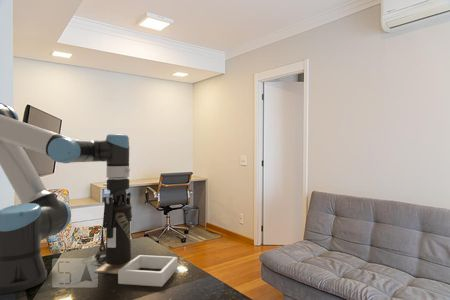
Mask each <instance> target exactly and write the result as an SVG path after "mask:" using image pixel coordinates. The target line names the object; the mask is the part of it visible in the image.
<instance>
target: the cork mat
mask: <svg viewBox="0 0 450 300" xmlns="http://www.w3.org/2000/svg"><path fill="white" fill-rule="evenodd" d="M132 260H133V259H131V261H132ZM128 263H129V262H128ZM128 263H125V264H121V265H109V264H107V263H106V262H105V263H104V264H103V265H100V266H99V267H98V268H97V269H95V270H94V273H102V274H115V275H116V274H117V275H118V270H119V269H121V268H122V267H123V266H125V265H126V264H128Z"/></svg>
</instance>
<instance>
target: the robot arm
mask: <svg viewBox="0 0 450 300" xmlns="http://www.w3.org/2000/svg"><path fill="white" fill-rule="evenodd" d="M25 149H27V150H29V151H32V152H35V153H38V154H42V155H44V156H48V157H49V158H51V159H52V160H53V161H54V162H57V163H62V164H70V163H91V162H92V163H93V162H94V163H95V162H106V178H107V179H106V190H108V191H109V195H108V196H104V198H103V202H104V206H103V217H102V218H103V219H102V227H103V229H106V228H107V247H109V248H115V247H116V228H114V226H115V221H116V213H113V207H119V206H120V204H129V205H131V204H132V201H131V194H132V193H131V192H127V190H129V189H130V179H129V177H130V171H131V169H130V137H129V135H127V134H123V133H122V134H121V133H120V134H119V133H113V134H111V133H109V134H107V135H106V139H103V140H99V139H98V140H95V139H94V140H92V139H91V140H88V139H81V138H80V139H79V138H72V137H69V136H66V135H63V134H60V133H56V132H54V131H51V130H48V129H45V128H41V127H39V126H36V125H32V124H30V123H26V122H24V121H21V120H19V115H18V114H17V112H16V111H15V110H14V108H13V107H11V106H9V105H7V104H4V103H1V102H0V167H1V169H2V170H3V172H4V174H5V176H6V179H7V181H9V183H10V185H11V187H12V189H13V191H14V193H15V194H16V196H17V198H18V199H19V202H20V204H16V205H10V206H7V207H4V208H2V209H0V295H2V294H12V293H17V292H22V291H25V290H27V289H31V288H34V287H36V286H38V285H40V284H42V283H44V282H45V281H46V280H47V278H48V268H47V267H46V265H45V262H44V259H43V257H42V252H41V251H42V250H41V249H42V246H41V245H42V243H41V242H42V240H45V239H46V238H49V237H52V236H56V235H58V234H60V232H63V231H64V230H65V229H66V228H67V227H68V226H69V224H70V221H71V218H72V212H71V208H70V206H69V205H68V203H67V202H65V201H62V200H58V198H57V196H56V194H55V192H52V191H48V190H47V188H46V186H45V184H44V183H43V181H42V179H41V177H40V175H39V173H38V172H37V170H36V169H35V166H34V165H33V163H32V162H31V159H30V157H29V156H28V154H27V153H26V151H25ZM131 206H132V205H131ZM132 214H133V213H132V209H131V210H130V222H132V217H133V215H132Z"/></svg>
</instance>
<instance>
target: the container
mask: <svg viewBox="0 0 450 300" xmlns="http://www.w3.org/2000/svg"><path fill="white" fill-rule="evenodd" d="M132 208H133V207H132V205H129V204H120V206H119V207H113V213H116V221H115V226H114V228H116V247H115V248H109V247H107V228H105V230H106V232H105V249H106V254H105V255H106V260H105V264H106V263H107V264H109V265H121V264H125V263H128V262H130V261H131V260H132V256H131V255H132V252H131V248H132V247H131V245H132V244H131V221H130V210H131V211H132Z"/></svg>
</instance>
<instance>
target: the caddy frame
mask: <svg viewBox="0 0 450 300" xmlns="http://www.w3.org/2000/svg"><path fill="white" fill-rule="evenodd" d="M131 260H132V261H130V262H129V263H128V264H126V265H125V266H123V267H122V268H121V269H119V270H118V274H117V284H119V285H130V286H131V285H132V286H133V285H134V286H148V287H163V286H164V285H165V284H166V283H167V282H168V280H169V279H170V278H171V277H172V276H173V275H174V273H175V272H176V271H177V270H178V269H177V268H178V257H177V256H170V255H169V256H167V255H150V254H149V255H147V254H146V255H145V254H139V255H137V256H135V258H133V259H131ZM141 268H142V269H154V270H141ZM155 269H156V270H157V271H156V270H155ZM158 269H159V271H158Z"/></svg>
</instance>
